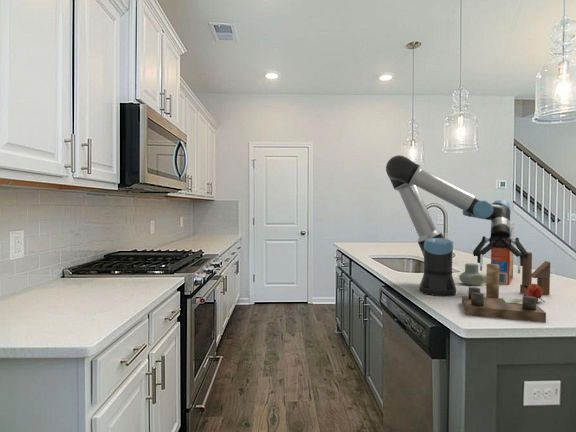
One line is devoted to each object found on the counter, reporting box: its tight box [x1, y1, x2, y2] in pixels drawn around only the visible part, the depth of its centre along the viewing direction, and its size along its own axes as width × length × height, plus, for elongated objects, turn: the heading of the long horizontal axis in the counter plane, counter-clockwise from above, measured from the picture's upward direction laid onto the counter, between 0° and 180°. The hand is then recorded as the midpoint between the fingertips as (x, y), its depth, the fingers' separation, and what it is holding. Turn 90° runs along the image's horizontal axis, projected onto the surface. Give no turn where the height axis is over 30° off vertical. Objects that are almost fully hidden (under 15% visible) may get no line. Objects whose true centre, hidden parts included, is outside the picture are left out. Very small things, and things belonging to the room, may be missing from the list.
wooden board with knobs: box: [461, 286, 547, 323], centre depth 143 cm, size 24×18×7 cm
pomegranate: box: [522, 283, 546, 303], centre depth 159 cm, size 7×7×10 cm
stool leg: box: [485, 263, 500, 298], centre depth 157 cm, size 4×4×15 cm
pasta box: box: [490, 221, 515, 286], centre depth 205 cm, size 23×8×30 cm, turn 147°
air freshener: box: [458, 262, 485, 287], centre depth 194 cm, size 11×8×10 cm
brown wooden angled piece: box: [519, 251, 551, 296], centre depth 174 cm, size 4×11×18 cm, turn 87°
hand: (499, 270), depth 161 cm, fingers open, 13 cm apart
